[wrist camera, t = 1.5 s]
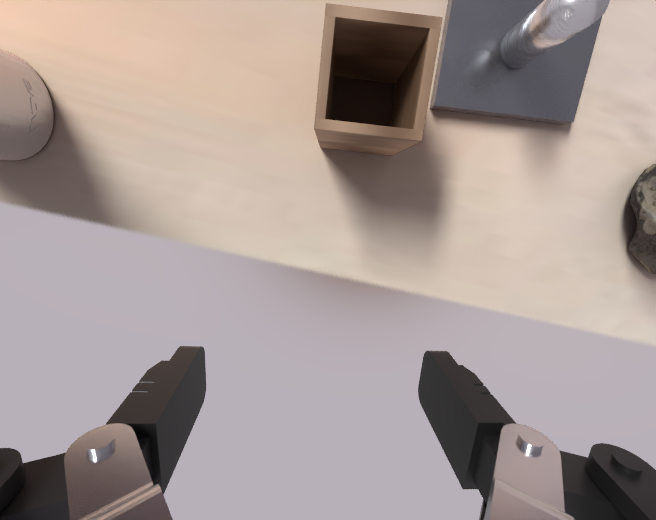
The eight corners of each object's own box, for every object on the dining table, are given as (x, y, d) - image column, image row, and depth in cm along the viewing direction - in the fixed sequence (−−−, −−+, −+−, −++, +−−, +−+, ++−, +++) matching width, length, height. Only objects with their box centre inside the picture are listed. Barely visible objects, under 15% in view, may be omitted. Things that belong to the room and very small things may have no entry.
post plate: (430, 108, 28) (468, 78, 20) (452, -24, 26) (505, -117, 18) (563, 124, 28) (654, 100, 20) (597, -6, 26) (715, -91, 18)
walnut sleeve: (320, 147, 29) (314, 128, 19) (328, 67, 28) (326, 3, 18) (392, 155, 29) (421, 140, 19) (404, 76, 28) (442, 17, 18)
